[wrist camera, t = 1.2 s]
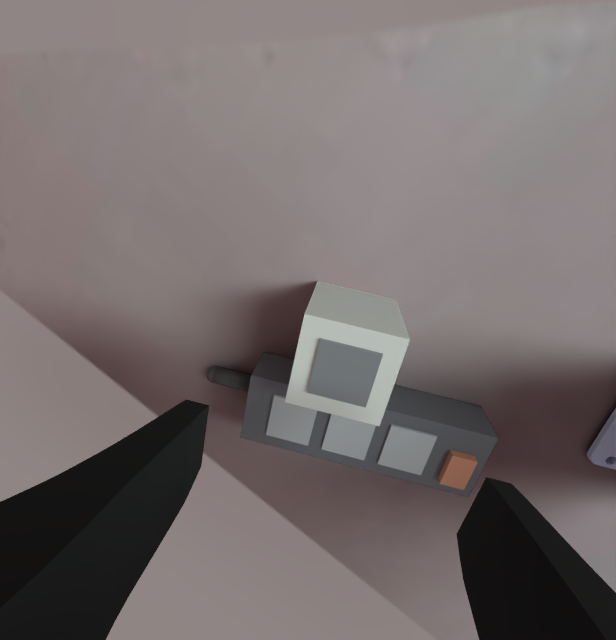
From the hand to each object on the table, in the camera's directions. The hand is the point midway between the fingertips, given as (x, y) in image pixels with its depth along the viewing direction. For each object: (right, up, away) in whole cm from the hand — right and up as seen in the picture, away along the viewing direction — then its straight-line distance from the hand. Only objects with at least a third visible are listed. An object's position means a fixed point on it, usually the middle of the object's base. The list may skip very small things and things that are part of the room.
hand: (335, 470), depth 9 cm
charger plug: (+1, +4, +10) cm, 10 cm away
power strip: (+1, -1, +11) cm, 11 cm away
